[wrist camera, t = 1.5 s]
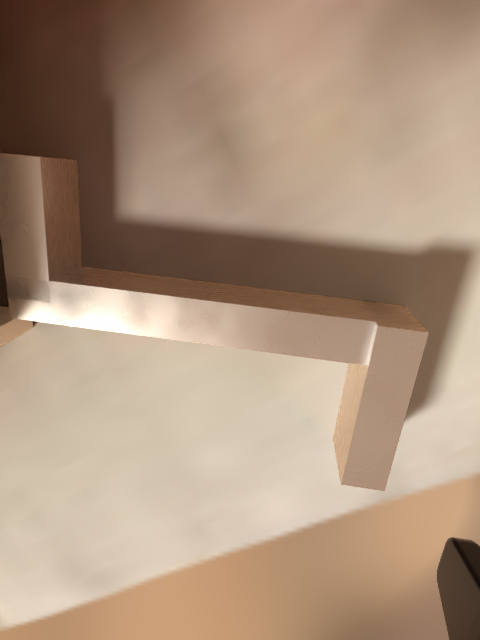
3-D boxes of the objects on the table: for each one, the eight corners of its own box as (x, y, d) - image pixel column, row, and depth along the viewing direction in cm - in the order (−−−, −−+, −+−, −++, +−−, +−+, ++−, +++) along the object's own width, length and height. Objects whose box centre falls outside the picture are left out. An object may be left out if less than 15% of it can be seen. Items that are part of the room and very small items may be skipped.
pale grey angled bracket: (369, 443, 22) (384, 491, 19) (54, 397, 23) (16, 434, 20) (431, 196, 17) (465, 201, 14) (36, 155, 19) (-18, 151, 15)
